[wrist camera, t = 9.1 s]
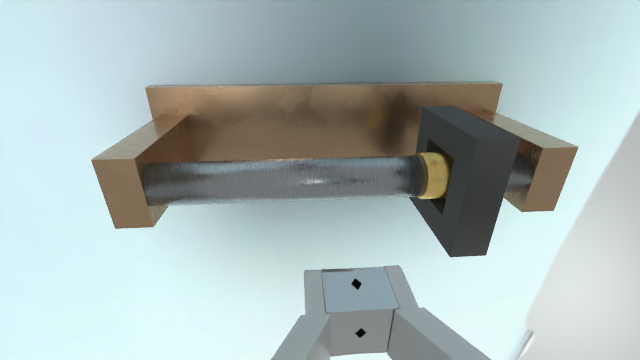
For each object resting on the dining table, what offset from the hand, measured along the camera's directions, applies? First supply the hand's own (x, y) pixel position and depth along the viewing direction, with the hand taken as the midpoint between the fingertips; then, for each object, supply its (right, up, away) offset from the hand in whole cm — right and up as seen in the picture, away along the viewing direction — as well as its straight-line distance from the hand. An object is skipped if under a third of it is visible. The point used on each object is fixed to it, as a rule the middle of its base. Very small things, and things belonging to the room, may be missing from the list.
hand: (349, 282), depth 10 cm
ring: (+7, +5, +11) cm, 14 cm away
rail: (0, +7, +15) cm, 17 cm away
